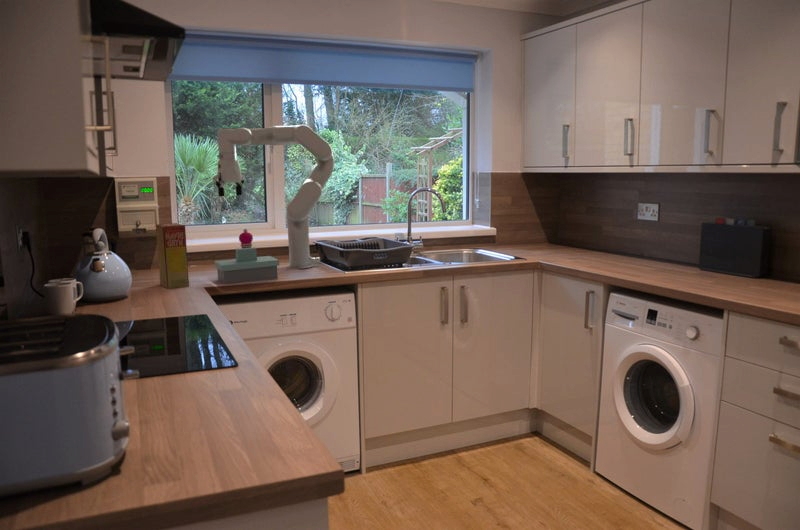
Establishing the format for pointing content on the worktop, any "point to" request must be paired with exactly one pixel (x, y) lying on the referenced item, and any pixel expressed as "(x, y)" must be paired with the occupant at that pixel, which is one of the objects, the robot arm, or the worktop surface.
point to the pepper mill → (246, 239)
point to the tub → (247, 275)
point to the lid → (246, 260)
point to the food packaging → (172, 255)
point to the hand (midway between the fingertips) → (230, 195)
